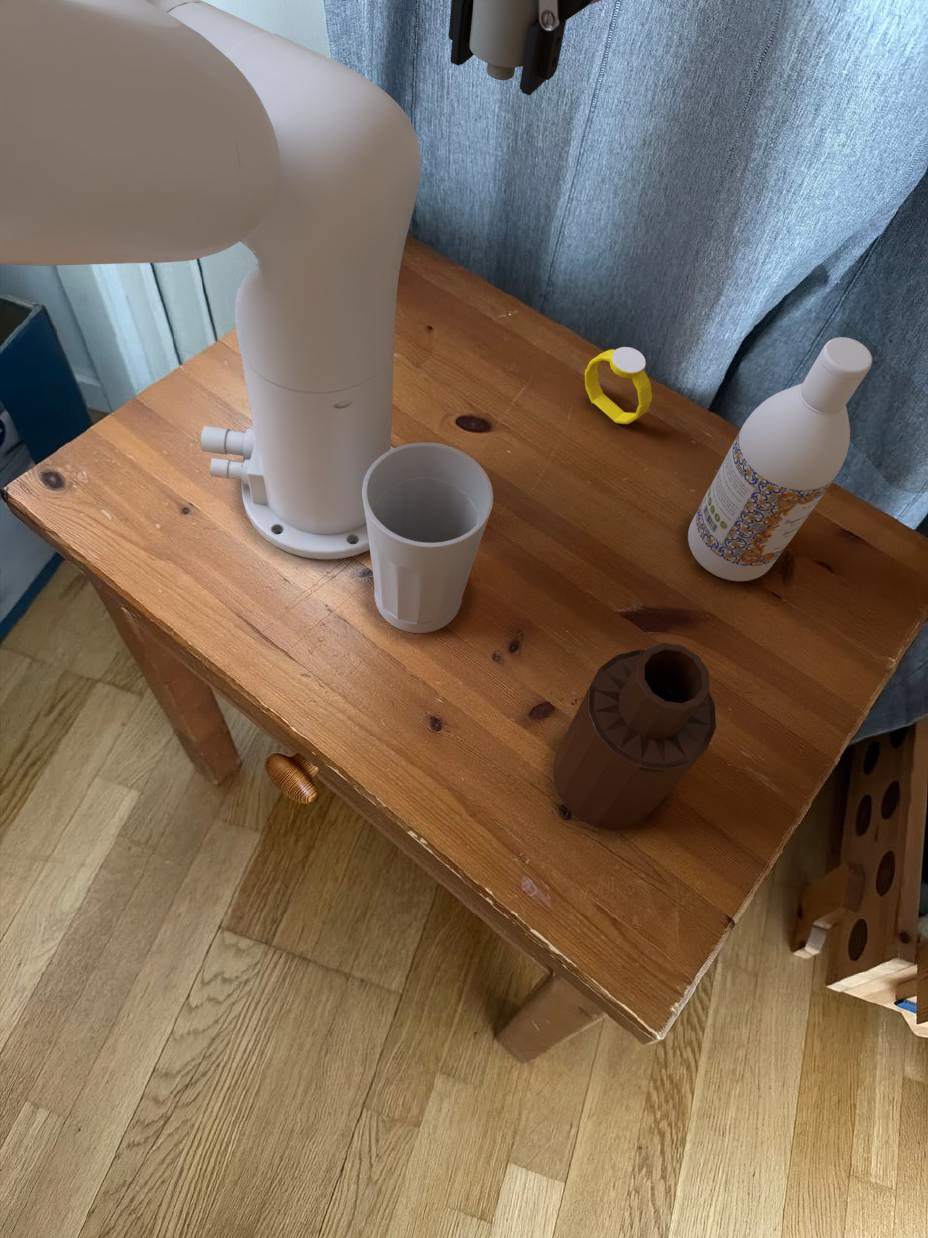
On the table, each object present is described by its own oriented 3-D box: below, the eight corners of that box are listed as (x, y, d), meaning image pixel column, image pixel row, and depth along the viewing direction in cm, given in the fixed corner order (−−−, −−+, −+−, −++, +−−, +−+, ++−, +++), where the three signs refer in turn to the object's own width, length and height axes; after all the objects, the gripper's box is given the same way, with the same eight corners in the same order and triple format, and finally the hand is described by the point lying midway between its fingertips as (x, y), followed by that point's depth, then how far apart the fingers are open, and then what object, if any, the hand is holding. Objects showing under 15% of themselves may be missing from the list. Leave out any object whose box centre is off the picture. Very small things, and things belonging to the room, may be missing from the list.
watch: (572, 397, 76) (587, 344, 71) (593, 382, 77) (610, 328, 72) (625, 439, 74) (644, 388, 69) (646, 423, 75) (667, 371, 70)
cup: (372, 542, 67) (373, 433, 56) (478, 556, 67) (498, 451, 57) (354, 635, 63) (352, 536, 52) (467, 650, 63) (487, 555, 53)
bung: (463, 86, 57) (473, -12, 52) (469, 49, 59) (479, -48, 54) (532, 96, 57) (548, -1, 52) (535, 59, 59) (550, -37, 54)
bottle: (550, 822, 57) (603, 731, 44) (555, 719, 61) (605, 607, 48) (661, 835, 58) (746, 749, 45) (659, 732, 61) (737, 624, 48)
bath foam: (726, 599, 67) (850, 414, 50) (667, 533, 70) (766, 335, 52) (791, 560, 69) (931, 371, 52) (732, 497, 72) (847, 298, 55)
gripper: (358, -365, 42) (358, 47, 58) (685, -257, 39) (591, 147, 55) (440, -392, 46) (419, 2, 61) (744, -296, 43) (640, 93, 58)
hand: (500, 67), depth 58 cm, fingers closed on bung, 4 cm apart
